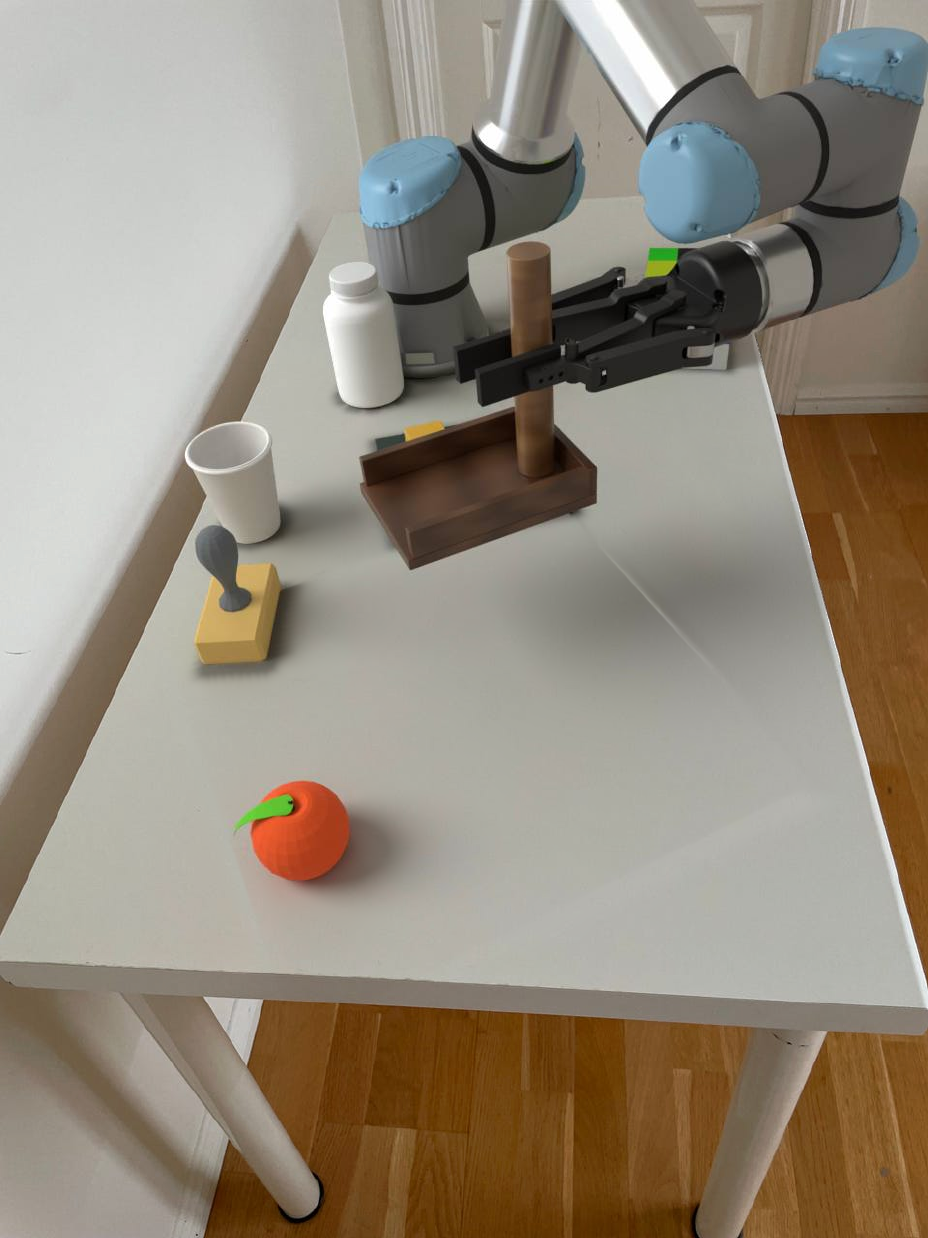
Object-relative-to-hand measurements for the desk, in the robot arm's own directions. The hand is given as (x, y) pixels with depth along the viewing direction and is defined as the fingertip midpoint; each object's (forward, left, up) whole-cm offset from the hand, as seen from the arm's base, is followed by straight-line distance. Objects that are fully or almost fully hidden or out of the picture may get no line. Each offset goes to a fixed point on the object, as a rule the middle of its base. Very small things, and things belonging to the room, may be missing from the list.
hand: (468, 376), depth 68 cm
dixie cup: (-19, -21, -24) cm, 37 cm away
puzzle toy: (-39, +32, -24) cm, 56 cm away
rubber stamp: (-4, -22, -24) cm, 33 cm away
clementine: (+21, -18, -24) cm, 37 cm away
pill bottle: (-40, -6, -24) cm, 47 cm away
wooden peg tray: (0, 0, -11) cm, 11 cm away
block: (-23, 0, -21) cm, 32 cm away
